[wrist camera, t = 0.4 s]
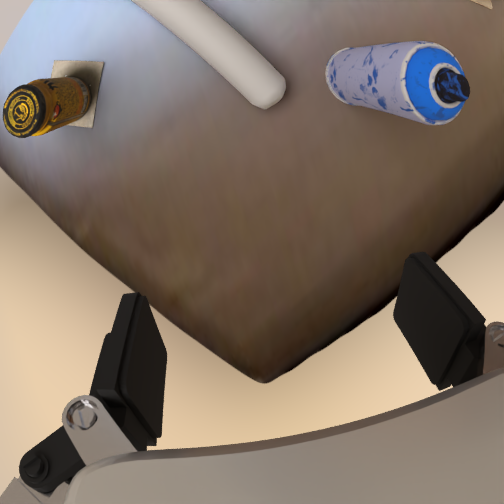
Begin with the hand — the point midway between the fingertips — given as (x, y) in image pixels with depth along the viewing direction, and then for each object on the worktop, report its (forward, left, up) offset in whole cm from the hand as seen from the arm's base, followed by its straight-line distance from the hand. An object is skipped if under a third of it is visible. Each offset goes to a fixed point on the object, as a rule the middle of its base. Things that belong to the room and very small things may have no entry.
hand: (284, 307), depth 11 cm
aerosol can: (-7, +16, -31) cm, 35 cm away
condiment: (-10, -19, -31) cm, 37 cm away
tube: (-14, -2, -31) cm, 34 cm away
